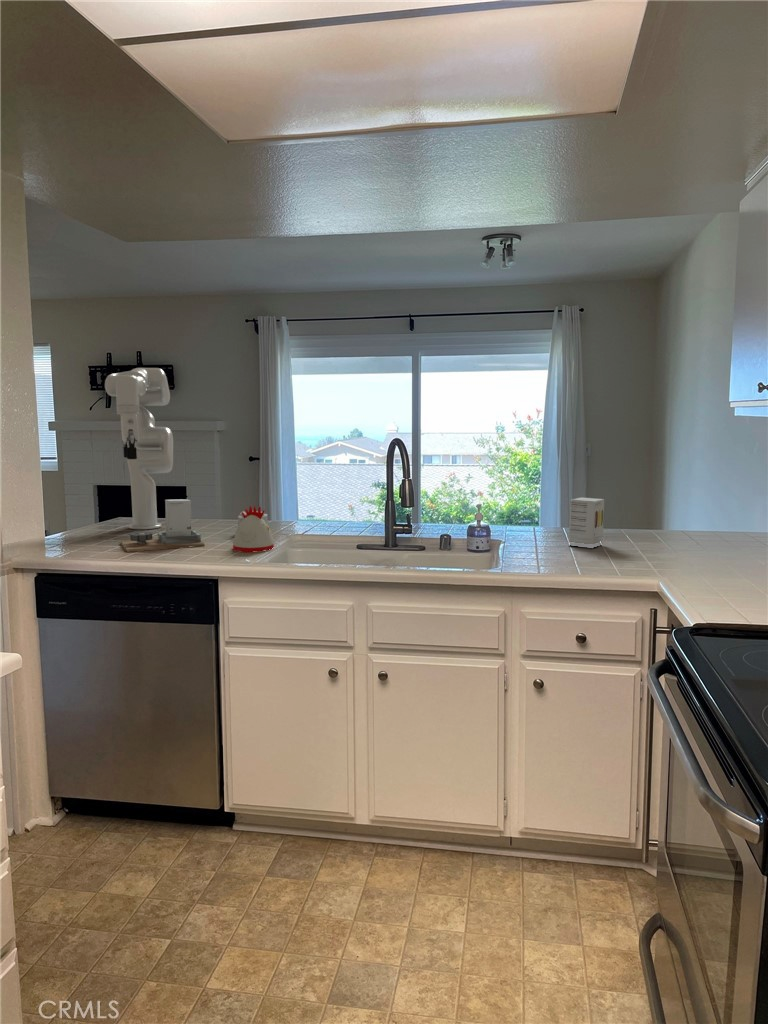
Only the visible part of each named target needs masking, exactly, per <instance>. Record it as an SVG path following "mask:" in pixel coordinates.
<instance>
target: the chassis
mask: <svg viewBox="0 0 768 1024" xmlns="http://www.w3.org/2000/svg"><path fill="white" fill-rule="evenodd" d="M141 534H145V533H139V535H141ZM201 538H202V536H201V534H200V533H199V532H197V531H196V530H192V529H191V535H185V536H172V537H166V531H163V532H157V537H152V540H146V541H131V540H130V539H128V540H127V539H125V540H120V544H121V546H122V545H123V546H122V547H123V549H124V548H125V549H124V550H125V552H126V551H127V552H126V553H131V552H130V551H137V552H145V551H144V550H150V551H157V550H156V549H162V550H169V549H168V548H174V549H181V548H180V547H187V548H190V547H189V546H199V547H205V542H203V540H202V539H201Z"/></svg>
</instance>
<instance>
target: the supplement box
mask: <svg viewBox="0 0 768 1024" xmlns="http://www.w3.org/2000/svg"><path fill="white" fill-rule="evenodd" d="M604 514H605V499H604V498H592V497H577V498H572V499H570V502H569V525H568V543H569V542H575V543H584V544H595V543H598V542H600V541H602V542H603V535H604V534H603V533H604V519H605V518H604V516H605V515H604Z"/></svg>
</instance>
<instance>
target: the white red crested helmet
mask: <svg viewBox="0 0 768 1024" xmlns="http://www.w3.org/2000/svg"><path fill="white" fill-rule="evenodd" d="M257 511H258V512H257ZM241 512H242V515H243V517H244V519H243V520H242V522H241V523H240V524H239V526H238V525H237V528H236V530H235V534H234V538H233V541H232V549H234V550H233V551H235V550H236V551H235V552H238V551H242V552H241V553H254V552H253V551H263V550H269V549H272V548H273V547H274V548H275V544H274V538H273V534H272V531H271V528H270V527H269V524H268V525H267V524H266V522H265V521H264V520H263V519H262V516H263V514H265V512H266V510H265V509H264V510H262V506H258V509H257V508H256V505H253V507H252V505H249V509H248V508H245V513H246V515H245V514H244V513H243V511H241ZM261 512H262V513H261ZM274 548H273V549H274ZM273 549H272V550H273ZM269 551H270V550H269Z"/></svg>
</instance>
